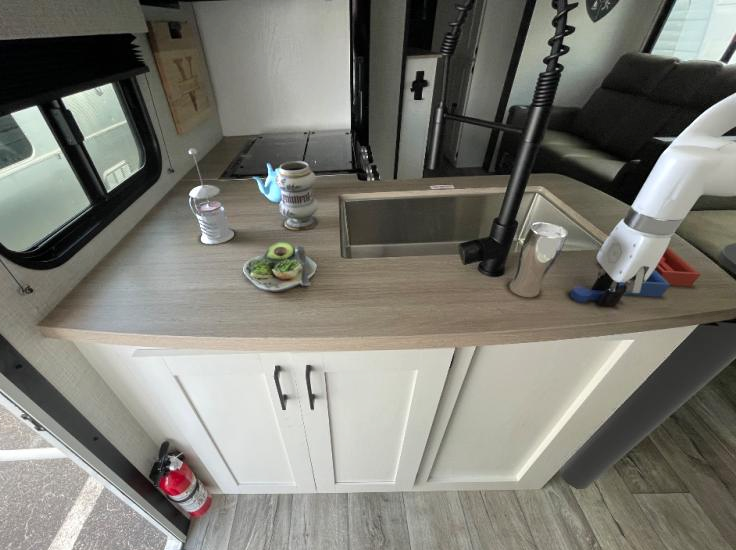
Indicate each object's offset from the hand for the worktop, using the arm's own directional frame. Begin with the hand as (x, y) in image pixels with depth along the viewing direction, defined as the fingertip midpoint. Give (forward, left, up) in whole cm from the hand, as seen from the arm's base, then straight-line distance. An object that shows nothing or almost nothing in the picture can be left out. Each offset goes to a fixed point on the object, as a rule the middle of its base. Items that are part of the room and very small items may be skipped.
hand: (602, 298), depth 70 cm
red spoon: (-18, -13, 0) cm, 22 cm away
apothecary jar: (+76, -28, 0) cm, 81 cm away
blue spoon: (+2, 0, 0) cm, 2 cm away
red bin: (-18, -13, 0) cm, 22 cm away
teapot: (+88, -48, 0) cm, 101 cm away
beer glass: (+16, -1, 0) cm, 16 cm away
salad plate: (+74, -1, 0) cm, 74 cm away
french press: (+100, -17, 0) cm, 101 cm away
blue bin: (-9, -8, 0) cm, 12 cm away
